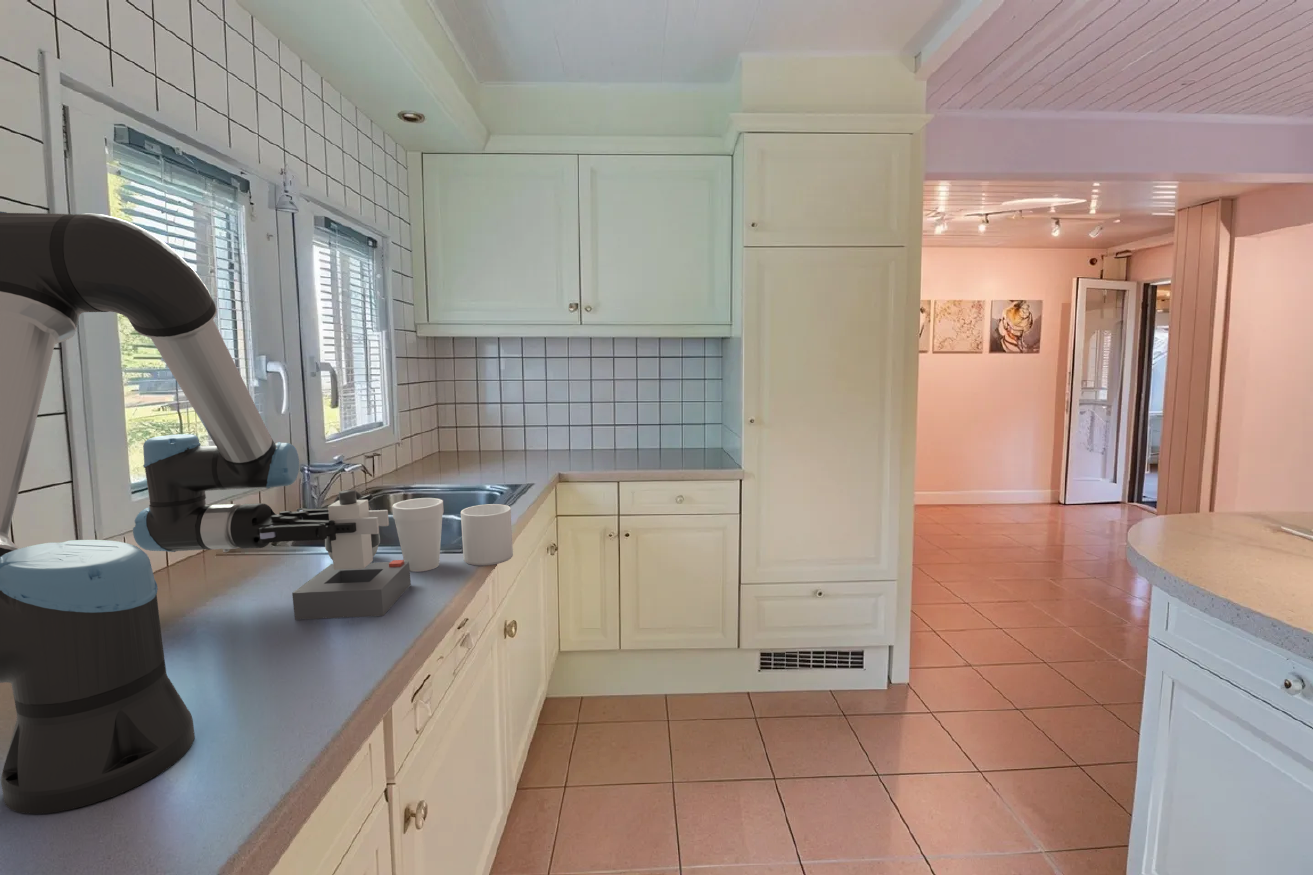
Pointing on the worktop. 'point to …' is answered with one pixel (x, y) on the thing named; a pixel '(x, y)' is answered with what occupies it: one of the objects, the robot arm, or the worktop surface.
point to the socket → (352, 591)
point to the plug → (350, 547)
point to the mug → (486, 534)
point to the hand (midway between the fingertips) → (382, 521)
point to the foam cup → (419, 531)
